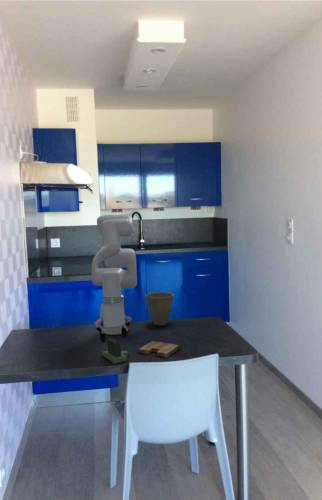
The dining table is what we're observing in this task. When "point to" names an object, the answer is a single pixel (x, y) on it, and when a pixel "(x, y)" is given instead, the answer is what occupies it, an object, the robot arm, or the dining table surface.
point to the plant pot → (159, 306)
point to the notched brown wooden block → (159, 348)
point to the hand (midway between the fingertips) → (113, 339)
